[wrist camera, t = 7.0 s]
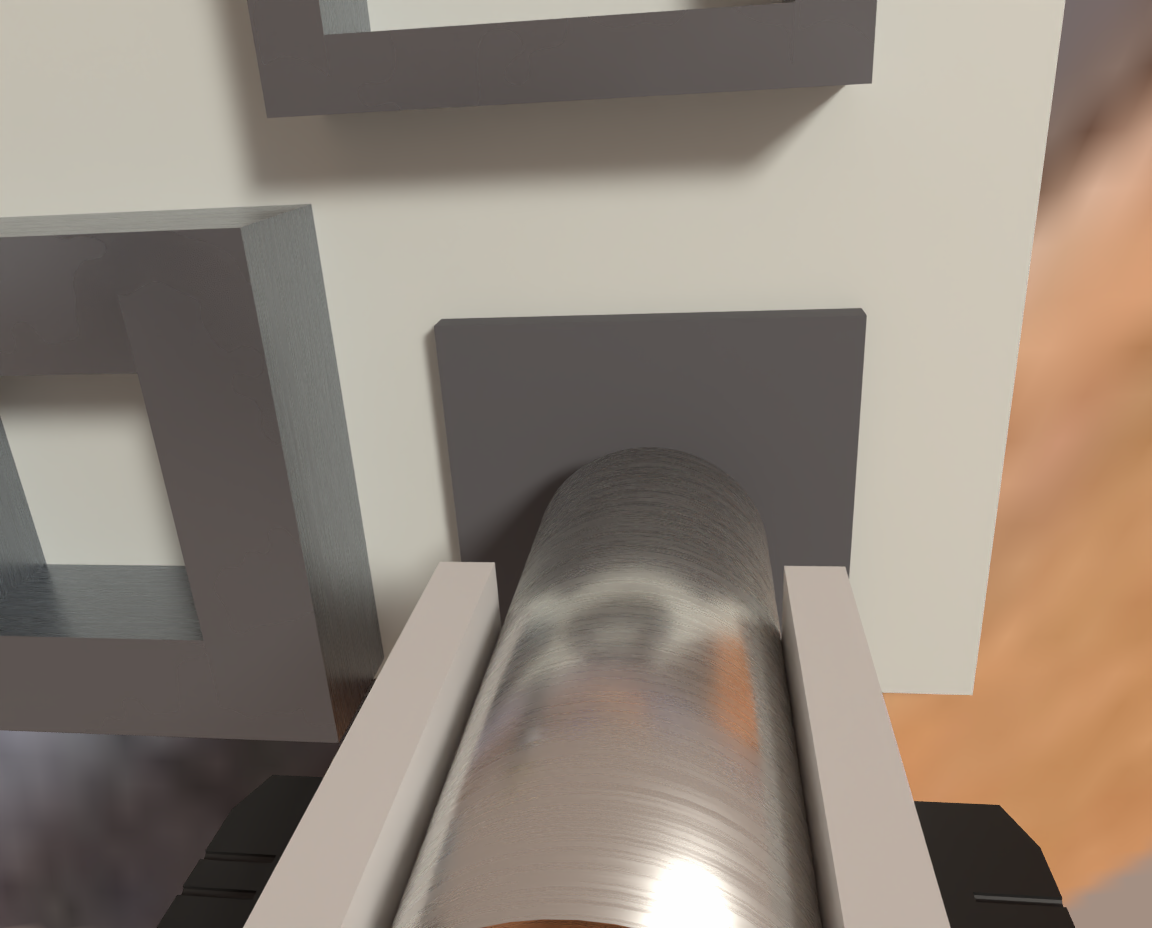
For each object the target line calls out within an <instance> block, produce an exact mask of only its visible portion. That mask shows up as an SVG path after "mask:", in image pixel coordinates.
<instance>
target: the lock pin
mask: <svg viewBox="0 0 1152 928" xmlns="http://www.w3.org/2000/svg"><path fill="white" fill-rule="evenodd" d="M391 928H822V921H821V914H820V907H819V900H818V893H817V886H816V879H815V872H814V865H813V858H812V851H811V844H810V837H809V830H808V823H807V816H806V809H805V802H804V795H803V788H802V781H801V774H800V767H799V760H798V754H797V747H796V740H795V733H794V726H793V719H792V712H791V705H790V698H789V691H788V684H787V677H786V670H785V663H784V656H783V649H782V642H781V633H780V626H779V619H778V612H777V605H776V598H775V591H774V584H773V577H772V570H771V563H770V556H769V549H768V542H767V537H766V532H765V528H764V525H763V522H762V519H761V516H760V514H759V512H758V510H757V508H756V506H755V505H754V503H753V501H752V500H751V498H750V497H749V496H748V494H747V493H746V491H745V490H744V489H743V488H742V487H741V486H740V485H739V484H738V483H737V482H736V481H735V480H734V479H733V478H732V477H731V476H729V475H728V474H727V473H726V472H724V471H723V470H722V469H720V468H718V467H717V466H715V465H714V464H712V463H710V462H708V461H706V460H704V459H702V458H700V457H697V456H695V455H692V454H689V453H686V452H682V451H678V450H673V449H667V448H656V447H642V448H631V449H626V450H621V451H616V452H613V453H610V454H607V455H604V456H602V457H600V458H598V459H595V460H593V461H591V462H589V463H588V464H586V465H585V466H583V467H582V468H580V469H578V470H577V471H576V472H575V473H574V474H572V475H571V476H570V477H569V478H568V479H567V480H566V481H565V482H564V483H563V484H562V485H561V486H560V488H559V489H558V490H557V491H556V493H555V494H554V496H553V497H552V499H551V501H550V502H549V504H548V507H547V509H546V511H545V513H544V516H543V518H542V521H541V524H540V526H539V529H538V532H537V535H536V537H535V540H534V543H533V545H532V548H531V551H530V553H529V556H528V559H527V562H526V564H525V567H524V570H523V572H522V575H521V578H520V580H519V583H518V586H517V589H516V591H515V594H514V597H513V599H512V602H511V605H510V607H509V610H508V613H507V616H506V618H505V621H504V624H503V626H502V629H501V632H500V634H499V637H498V640H497V643H496V645H495V648H494V651H493V653H492V656H491V659H490V661H489V664H488V667H487V670H486V672H485V675H484V678H483V680H482V683H481V686H480V688H479V691H478V694H477V697H476V699H475V702H474V705H473V707H472V710H471V713H470V715H469V718H468V721H467V724H466V726H465V729H464V732H463V734H462V737H461V740H460V742H459V745H458V748H457V751H456V753H455V756H454V759H453V761H452V764H451V767H450V769H449V772H448V775H447V778H446V780H445V783H444V786H443V788H442V791H441V794H440V796H439V799H438V802H437V805H436V807H435V810H434V813H433V815H432V818H431V821H430V824H429V826H428V829H427V832H426V834H425V837H424V840H423V842H422V845H421V848H420V851H419V853H418V856H417V859H416V861H415V864H414V867H413V869H412V872H411V875H410V878H409V880H408V883H407V886H406V888H405V891H404V894H403V896H402V899H401V902H400V905H399V907H398V910H397V913H396V915H395V918H394V921H393V923H392V926H391Z"/></svg>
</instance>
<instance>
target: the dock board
mask: <svg viewBox="0 0 1152 928" xmlns="http://www.w3.org/2000/svg"><path fill="white" fill-rule="evenodd" d="M776 3H782V0H367V5H368V13H369V21H370V28H371V32H372V31H386V30H401V29H415V28H429V27H444V26H458V25H473V24H487V23H502V22H516V21H531V20H545V19H559V18H574V17H588V16H603V15H617V14H632V13H646V12H661V11H675V10H689V9H704V8H718V7H733V6H747V5H762V4H776ZM1064 7H1065V0H877V11H876V27H875V43H874V59H873V74H872V84H855V85H837V86H820V87H802V88H785V89H767V90H750V91H732V92H715V93H697V94H680V95H662V96H645V97H627V98H610V99H592V100H575V101H557V102H540V103H522V104H505V105H487V106H470V107H452V108H435V109H417V110H400V111H382V112H365V113H347V114H330V115H312V116H295V117H277V118H267V114H266V108H265V103H264V97H263V91H262V85H261V79H260V74H259V68H258V62H257V56H256V50H255V45H254V39H253V33H252V27H251V21H250V16H249V10H248V4H247V0H0V217H22V216H45V215H67V214H90V213H113V212H136V211H159V210H182V209H205V208H228V207H250V206H273V205H296V204H311V205H312V211H313V217H314V223H315V230H316V236H317V242H318V248H319V255H320V261H321V267H322V273H323V279H324V286H325V292H326V298H327V304H328V311H329V317H330V323H331V329H332V335H333V342H334V348H335V354H336V360H337V367H338V373H339V379H340V385H341V391H342V398H343V404H344V410H345V416H346V423H347V429H348V435H349V441H350V447H351V454H352V460H353V466H354V472H355V479H356V485H357V491H358V497H359V503H360V510H361V516H362V522H363V528H364V535H365V541H366V547H367V553H368V559H369V566H370V572H371V578H372V584H373V591H374V597H375V603H376V609H377V615H378V622H379V628H380V634H381V640H382V647H383V653H384V660H383V662H382V664H381V666H380V667H379V669H378V671H377V673H376V675H375V677H374V678H377V677H378V676H379V674H380V672H381V670H382V668H383V666H384V664H385V663H386V661H387V659H388V657H389V655H390V653H391V651H392V649H393V648H394V646H395V644H396V642H397V640H398V638H399V636H400V635H401V633H402V631H403V629H404V627H405V625H406V623H407V622H408V620H409V618H410V616H411V614H412V612H413V610H414V608H415V607H416V605H417V603H418V601H419V599H420V597H421V595H422V594H423V592H424V590H425V588H426V586H427V584H428V582H429V581H430V579H431V577H432V575H433V573H434V571H435V569H436V567H437V566H438V564H439V562H461V555H460V546H459V537H458V529H457V520H456V512H455V503H454V495H453V486H452V478H451V469H450V460H449V452H448V443H447V435H446V426H445V418H444V409H443V401H442V392H441V383H440V375H439V366H438V358H437V349H436V341H435V332H434V325H435V324H437V323H438V322H439V321H440V320H441V319H455V318H493V317H532V316H571V315H610V314H649V313H688V312H726V311H765V310H804V309H843V308H862V309H863V311H864V312H865V313H866V315H867V321H866V336H865V351H864V366H863V380H862V395H861V410H860V425H859V440H858V455H857V469H856V484H855V499H854V514H853V529H852V544H851V559H850V573H849V581H850V585H851V588H852V591H853V595H854V598H855V602H856V605H857V609H858V612H859V615H860V619H861V622H862V626H863V629H864V633H865V636H866V639H867V643H868V646H869V650H870V653H871V657H872V660H873V663H874V667H875V670H876V674H877V677H878V681H879V684H880V687H881V691H882V693H916V694H952V695H973V688H974V680H975V673H976V665H977V658H978V650H979V643H980V635H981V628H982V620H983V613H984V605H985V598H986V590H987V583H988V575H989V568H990V560H991V553H992V545H993V538H994V530H995V523H996V515H997V508H998V500H999V493H1000V486H1001V478H1002V471H1003V463H1004V456H1005V448H1006V441H1007V433H1008V426H1009V418H1010V411H1011V403H1012V396H1013V388H1014V381H1015V373H1016V366H1017V358H1018V351H1019V343H1020V336H1021V328H1022V321H1023V313H1024V306H1025V299H1026V291H1027V284H1028V276H1029V269H1030V261H1031V254H1032V246H1033V239H1034V231H1035V224H1036V216H1037V209H1038V201H1039V194H1040V186H1041V179H1042V171H1043V164H1044V156H1045V149H1046V141H1047V134H1048V126H1049V119H1050V111H1051V104H1052V97H1053V89H1054V82H1055V74H1056V67H1057V59H1058V52H1059V44H1060V37H1061V29H1062V22H1063V14H1064ZM0 417H1V420H2V423H3V426H4V429H5V433H6V436H7V439H8V442H9V445H10V449H11V452H12V455H13V458H14V461H15V465H16V468H17V471H18V474H19V477H20V480H21V484H22V487H23V490H24V493H25V496H26V500H27V503H28V506H29V509H30V512H31V516H32V519H33V522H34V525H35V528H36V532H37V535H38V538H39V541H40V544H41V547H42V551H43V554H44V557H45V560H46V563H47V564H73V565H161V566H185V563H184V559H183V555H182V551H181V547H180V543H179V539H178V535H177V531H176V527H175V523H174V519H173V515H172V511H171V507H170V503H169V499H168V495H167V491H166V487H165V483H164V479H163V475H162V471H161V467H160V463H159V459H158V455H157V451H156V446H155V442H154V438H153V434H152V430H151V426H150V422H149V418H148V414H147V410H146V406H145V402H144V398H143V394H142V390H141V386H140V382H139V378H138V374H137V373H134V374H80V375H26V376H0Z"/></svg>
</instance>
